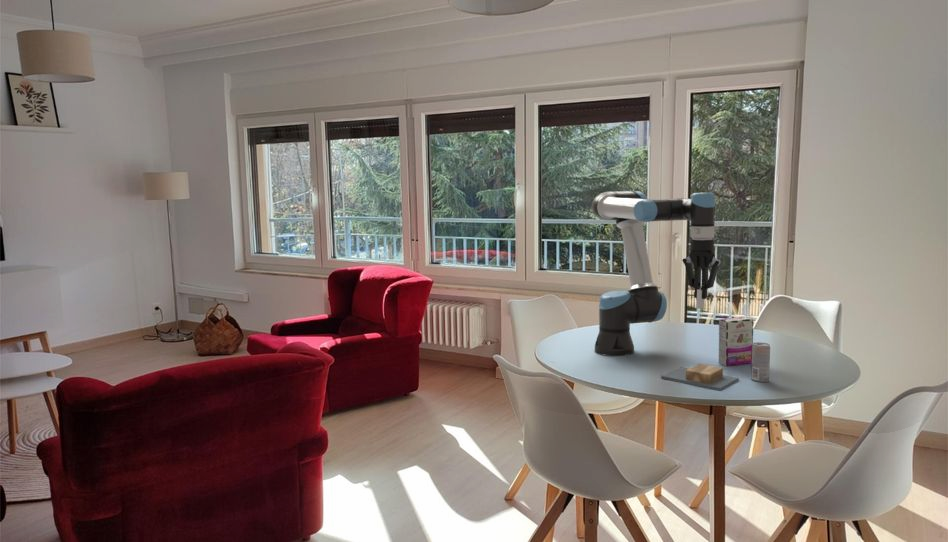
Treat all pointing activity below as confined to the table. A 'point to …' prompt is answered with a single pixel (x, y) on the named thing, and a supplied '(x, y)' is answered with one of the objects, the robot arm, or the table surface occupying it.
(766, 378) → the energy drink
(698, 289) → the robot arm
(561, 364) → the table surface
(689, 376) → the slab
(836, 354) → the table surface
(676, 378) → the mat
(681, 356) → the table surface
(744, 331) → the candy bar box
